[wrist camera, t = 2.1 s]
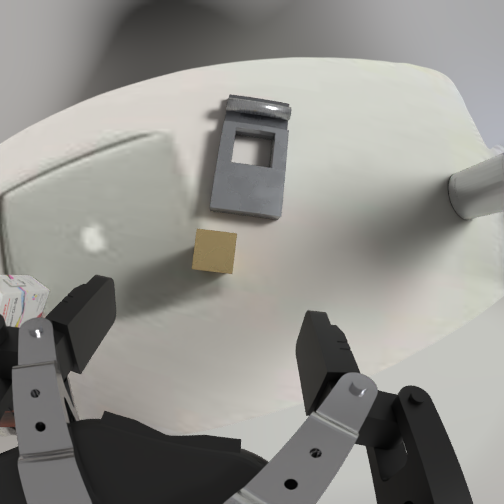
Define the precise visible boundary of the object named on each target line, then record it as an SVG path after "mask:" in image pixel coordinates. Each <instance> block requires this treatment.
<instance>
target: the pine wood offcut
mask: <svg viewBox="0 0 504 504" xmlns="http://www.w3.org/2000/svg"><path fill="white" fill-rule="evenodd" d="M236 238H237V234H236V233H228V232H220V231H212V230H204V229H197V232H196V239H195V247H194V255H193V263H192V269H196V270H204V271H212V272H220V273H229V274H232V271H233V263H234V254H235V246H236Z"/></svg>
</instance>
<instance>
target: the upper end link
mask: <svg viewBox="0 0 504 504" xmlns="http://www.w3.org/2000/svg"><path fill="white" fill-rule="evenodd" d="M236 131H241V132H248V133H254V134H261V135H267V136H273V137H274V141H273V151H272V161H271V168H268V167H262V166H255V165H248V164H241V163H233V162H231V159H232V152H233V146H234V139H235V133H236ZM288 133H289V130H284V129H279V128H273V127H267V126H261V125H254V124H248V123H240V122H233V121H225V120H224V124H223V129H222V135H221V141H220V146H219V152H218V158H217V164H216V170H215V177H214V183H213V189H212V196H211V203H210V211H214V212H222V213H230V214H238V215H245V216H253V217H260V218H268V219H275V220H278V219H279V218H280V217H281V213H282V203H283V192H284V181H285V170H286V158H287V146H288Z"/></svg>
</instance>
